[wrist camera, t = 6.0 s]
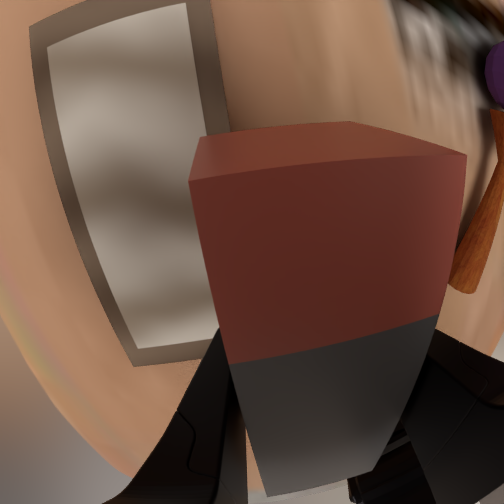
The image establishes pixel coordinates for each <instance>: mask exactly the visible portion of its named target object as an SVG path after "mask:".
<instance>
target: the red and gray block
mask: <svg viewBox="0 0 504 504" xmlns="http://www.w3.org/2000/svg"><path fill="white" fill-rule="evenodd" d="M466 163H467V155H466V154H463V153H460V152H457V151H455V150H452V149H449V148H446V147H443V146H440V145H437V144H434V143H430V142H427V141H424V140H421V139H417V138H414V137H411V136H407V135H403V134H400V133H396V132H392V131H389V130H385V129H381V128H377V127H373V126H368V125H364V124H360V123H355V122H351V121H347V122H326V123H310V124H297V125H286V126H276V127H267V128H258V129H250V130H242V131H235V132H228V133H221V134H215V135H209V136H203V137H200V138H199V142H198V145H197V149H196V152H195V156H194V160H193V163H192V167H191V171H190V175H189V179H188V184H189V189H190V195H191V200H192V205H193V210H194V215H195V220H196V225H197V230H198V235H199V240H200V244H201V249H202V254H203V258H204V263H205V267H206V272H207V276H208V281H209V285H210V290H211V294H212V298H213V303H214V307H215V311H216V315H217V320H218V324H219V328H220V332H221V336H222V340H223V344H224V348H225V352H226V356H227V360H228V364H229V367H230V371H231V375H232V379H233V383H234V386H235V390H236V394H237V397H238V401H239V405H240V408H241V412H242V415H243V419H244V422H245V426H246V429H247V433H248V436H249V440H250V443H251V446H252V450H253V453H254V456H255V460H256V463H257V466H258V469H259V473H260V476H261V479H262V482H263V485H264V488H265V491H266V495H267V497H270V496H276V495H282V494H287V493H292V492H297V491H302V490H306V489H311V488H315V487H319V486H323V485H327V484H330V483H334V482H338V481H341V480H344V479H348V478H351V477H354V476H357V475H360V474H363V473H366V472H369V471H372V470H373V468H374V467H375V465H376V463H377V461H378V460H379V458H380V456H381V454H382V452H383V450H384V449H385V447H386V445H387V443H388V441H389V439H390V437H391V435H392V433H393V431H394V429H395V427H396V425H397V423H398V421H399V419H400V417H401V415H402V413H403V410H404V408H405V406H406V404H407V401H408V399H409V397H410V395H411V392H412V390H413V387H414V385H415V383H416V380H417V378H418V375H419V372H420V370H421V367H422V365H423V362H424V359H425V356H426V354H427V351H428V348H429V345H430V342H431V339H432V336H433V333H434V330H435V327H436V324H437V320H438V317H439V314H440V310H441V307H442V303H443V299H444V296H445V292H446V288H447V284H448V280H449V276H450V271H451V267H452V262H453V257H454V253H455V247H456V242H457V237H458V231H459V225H460V218H461V211H462V204H463V196H464V187H465V176H466Z"/></svg>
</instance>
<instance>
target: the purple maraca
mask: <svg viewBox="0 0 504 504" xmlns="http://www.w3.org/2000/svg"><path fill="white" fill-rule="evenodd" d="M484 74H485V78H486V82H487V87H488V90H489V91H490V93H491V94H492V96H493V98H494V100H495V101H496V103H497V104H498V105H499V106H501V107H502V108H503V109H504V41H502V42H500V43H498V44H496V45H494V46H493V48H492V49H491V51H490V52H489V54H488V56H487V58H486V64H485V72H484ZM490 114H491V119H492V124H493V130H494V135H495V142H496V149H497V156H498V163H497V165H496V168H495V170H494V173H493V175H492V178H491V180H490V182H489V185H488V187H487V189H486V192H485V194H484V196H483V198H482V201H481V203H480V205H479V207H478V209H477V211H476V213H475V215H474V217H473V219H472V222H471V224H470V226H469V227H468V229H467V231H466V233H465V235H464V237H463V239H462V241H461V243H460V245H459V247H458V248H457V250H456V252H455V254H454V257H453V262H452V267H451V271H450V276H449V280H448V284H449V285H451V286H452V287H453V288H455V289H456V290H458V291H460V292H463V293H467V294H472V293H474V292H475V291H476V289H477V286H478V283H479V281H480V278H481V275H482V273H483V270H484V267H485V264H486V261H487V258H488V255H489V252H490V249H491V246H492V243H493V239H494V236H495V232H496V229H497V225H498V221H499V218H500V214H501V210H502V206H503V201H504V112H502V111H498V110H494V109H490Z"/></svg>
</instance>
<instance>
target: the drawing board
mask: <svg viewBox="0 0 504 504" xmlns="http://www.w3.org/2000/svg"><path fill="white" fill-rule="evenodd" d="M29 34H30V48H31V59H32V68H33V76H34V83H35V90H36V96H37V102H38V108H39V113H40V119H41V124H42V128H43V133H44V138H45V142H46V146H47V151H48V155H49V159H50V163H51V166H52V170H53V174H54V177H55V181H56V184H57V188H58V191H59V194H60V198H61V201H62V204H63V207H64V210H65V213H66V216H67V219H68V222H69V225H70V228H71V231H72V234H73V236H74V239H75V242H76V244H77V247H78V250H79V252H80V255H81V257H82V260H83V262H84V265H85V267H86V270H87V272H88V275H89V277H90V279H91V282H92V284H93V286H94V289H95V291H96V293H97V295H98V298H99V300H100V302H101V304H102V306H103V308H104V311H105V313H106V315H107V317H108V319H109V321H110V323H111V325H112V327H113V329H114V331H115V333H116V335H117V337H118V339H119V341H120V343H121V345H122V347H123V348H124V350H125V352H126V354H127V356H128V358H129V359H130V361H131V363H132V365H133V367H137V366H147V365H156V364H165V363H173V362H181V361H188V360H195V359H202V358H203V357H204V355H205V353H206V351H207V349H208V347H209V345H210V343H211V341H212V339H213V337H214V335H215V333H216V331H217V329H218V328H219V324H218V320H217V315H216V311H215V307H214V303H213V298H212V294H211V290H210V285H209V281H208V276H207V272H206V267H205V263H204V258H203V254H202V249H201V244H200V240H199V235H198V230H197V225H196V220H195V215H194V210H193V205H192V200H191V195H190V189H189V184H188V179H189V175H190V171H191V167H192V163H193V160H194V156H195V152H196V149H197V145H198V142H199V138H200V137H203V136H209V135H215V134H221V133H228V132H231V131H230V124H229V118H228V112H227V105H226V99H225V93H224V86H223V80H222V73H221V67H220V61H219V54H218V48H217V41H216V35H215V29H214V22H213V16H212V9H211V3H210V0H86V1H84V2H81V3H79V4H76V5H74V6H71V7H69V8H67V9H64V10H62V11H60V12H58V13H56V14H53V15H51V16H49V17H47V18H45V19H43V20H41V21H39V22H37V23H35V24H33V25H31V26H30V27H29Z"/></svg>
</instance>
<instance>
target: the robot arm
mask: <svg viewBox="0 0 504 504" xmlns="http://www.w3.org/2000/svg"><path fill="white" fill-rule="evenodd" d="M347 481H348V489H349V499H350V501H351V502H353V503H356V504H475V503H477V502H478V501H479V502H480V504H504V362H502V361H499V360H497V359H495V358H492V357H490V356H488V355H486V354H483V353H481V352H479V351H477V350H475V349H473V348H471V347H469V346H467V345H466V344H464V343H462V342H459V341H458V340H456V339H454V338H452V337H450V336H448V335H447V334H445V333H443V332H441V331H439V330H437V329H435V330H434V333H433V336H432V339H431V342H430V345H429V348H428V351H427V354H426V356H425V359H424V362H423V365H422V367H421V370H420V372H419V375H418V378H417V380H416V383H415V385H414V387H413V390H412V392H411V395H410V397H409V399H408V401H407V404H406V406H405V408H404V410H403V413H402V415H401V417H400V419H399V421H398V423H397V425H396V427H395V429H394V431H393V433H392V435H391V437H390V439H389V441H388V443H387V445H386V447H385V449H384V450H383V452H382V454H381V456H380V458H379V460H378V461H377V463H376V465H375V467H374V468H373V470H372V471H369V472H366V473H363V474H360V475H357V476H354V477H351V478H348V479H347ZM102 504H248V489H247V460H246V428H245V422H244V419H243V415H242V412H241V408H240V405H239V401H238V397H237V394H236V390H235V386H234V383H233V379H232V375H231V371H230V367H229V364H228V360H227V356H226V352H225V348H224V344H223V340H222V336H221V332H220V328H218V329H217V331H216V333H215V335H214V337H213V339H212V341H211V343H210V345H209V347H208V349H207V351H206V353H205V355H204V357H203V359H202V360H201V362H200V364H199V366H198V368H197V370H196V372H195V374H194V376H193V378H192V380H191V382H190V384H189V386H188V388H187V390H186V392H185V394H184V396H183V398H182V400H181V402H180V404H179V406H178V408H177V411H176V412H175V413H174V415H173V417H172V419H171V421H170V423H169V425H168V427H167V429H166V430H165V432H164V434H163V436H162V437H161V439H160V440H159V442H158V443H157V445H156V447H155V448H154V450H153V451H152V452H151V454H150V455H149V457H148V458H147V460H146V461H145V462H144V464H143V465H142V467H141V468H140V469H139V471H138V472H137V474H136V475H135V476H134V478H133V479H132V481H131V482H130V483H129V485H128V486H127V487H126V488H125V489H124V490H123V491H122V492H121V493H119V494H118V495H117V496H115V497H114V498H112V499H110V500H108V501H106V502H104V503H102Z"/></svg>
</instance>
